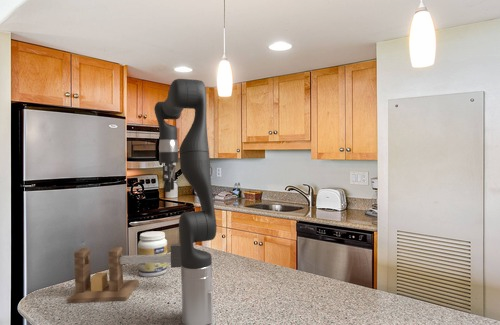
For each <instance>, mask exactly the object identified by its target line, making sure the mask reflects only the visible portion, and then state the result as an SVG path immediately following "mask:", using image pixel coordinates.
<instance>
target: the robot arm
mask: <svg viewBox="0 0 500 325" xmlns="http://www.w3.org/2000/svg"><path fill="white" fill-rule="evenodd" d="M184 109H193V110H194V116H193V121H192V123H191V126H190V128H189V130H188V131H187V133H186V135H185V136H184V139H182V142H181V143H180V146H179V143H178V128H177V126H176V125H173V124H168V123H167V122H166V121H165V120H179V119H180V118H181V115H182V112H183V110H184ZM154 115H155V118H156V121H157V125H158V128H159V129H158V131H159V145H158V150H159V152H158V154H159V163H161V164H164V165H162V182H163V184H164V192H165V193H170V192H171V191H173V190H175V179H176V166H175V163H177V164H178V163H180V164H179V166H180V170H181V173H182V175H183V176H184V178H185V180H186V181H187V182H188V184H189V185H190V186H191V188H192V189H193V191H194V192H195V193H196V195H197V198H198V201H199V204H200V208H201V210H198V211H187V212H183V213H182V212H181V214H180V215H179V216H180V217H179V219H178V230H179V231H178V234H179V244H180V253H181V267H180V275H181V276H180V278H181V279H180V280H181V286H180V287H181V322H182V324H183V325H212V324H213V317H214V304H213V303H214V298H213V297H214V296H213V295H214V294H213V293H214V292H213V289H214V288H213V271H212V269H213V268H212V267H213V266H212V265H213V264H212V263H213V262H212V261H213V260H212V259H213V258H212V255H211V253H210V252H208V251H205V250H203V249H202V250H201V249H197V248H195V247H194V243H201V242H208V241H213V240H214V239H215V238H216V235H217V228H218V226H217V218H216V211H215V205H214V198H213V190H212V181H211V180H212V178H211V161H210V160H211V159H210V150H209V149H210V148H209V140H208V128H207V126H208V124H207V123H208V122H207V90H206V85H205V82H204V81H203V80H199V79H188V78H177V79H174V80H173V81H172V82H171V84H170V86H169V89H168V93H167V98H166V99H165V100H164V101H157V102H156V103H155V105H154Z"/></svg>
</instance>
